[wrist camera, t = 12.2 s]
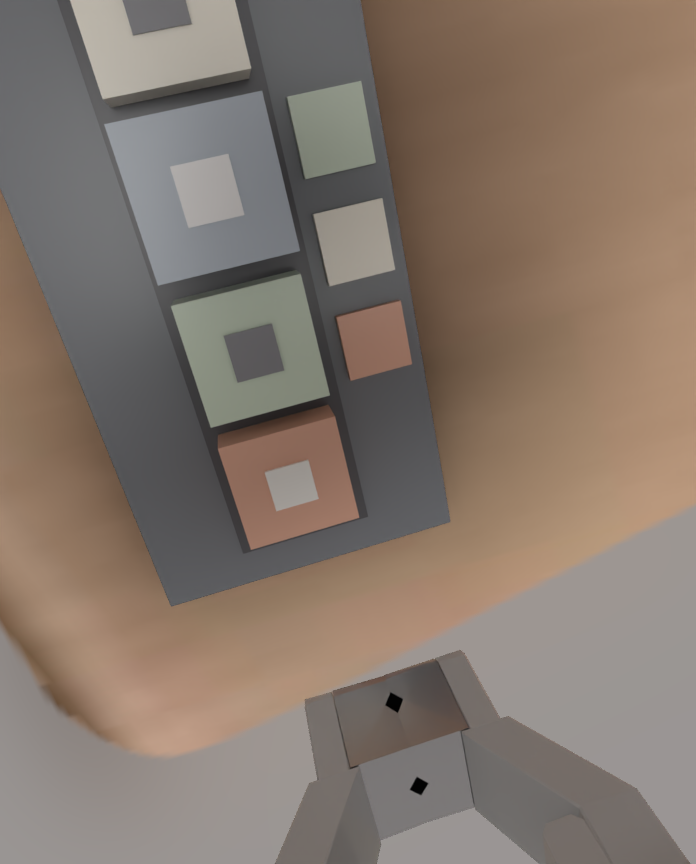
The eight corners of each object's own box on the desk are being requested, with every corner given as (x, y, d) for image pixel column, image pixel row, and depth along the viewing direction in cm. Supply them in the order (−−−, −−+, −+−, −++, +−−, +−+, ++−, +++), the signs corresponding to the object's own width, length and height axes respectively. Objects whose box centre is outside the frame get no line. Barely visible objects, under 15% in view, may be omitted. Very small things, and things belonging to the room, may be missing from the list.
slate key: (112, 131, 17) (103, 123, 15) (259, 99, 17) (262, 89, 16) (162, 280, 18) (157, 285, 17) (294, 248, 19) (300, 251, 17)
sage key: (174, 300, 20) (170, 306, 18) (295, 269, 20) (301, 274, 19) (211, 414, 21) (210, 429, 20) (323, 384, 22) (330, 396, 21)
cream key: (54, -65, 16) (39, -91, 15) (208, -92, 17) (206, -120, 15) (111, 107, 18) (101, 98, 16) (249, 78, 18) (251, 67, 17)
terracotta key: (217, 434, 22) (217, 450, 20) (328, 404, 22) (335, 417, 21) (249, 531, 23) (251, 551, 22) (351, 501, 24) (359, 518, 22)
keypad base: (-113, -125, 16) (-145, -157, 15) (315, -195, 17) (323, -230, 16) (173, 589, 25) (170, 611, 24) (440, 508, 26) (453, 525, 25)
